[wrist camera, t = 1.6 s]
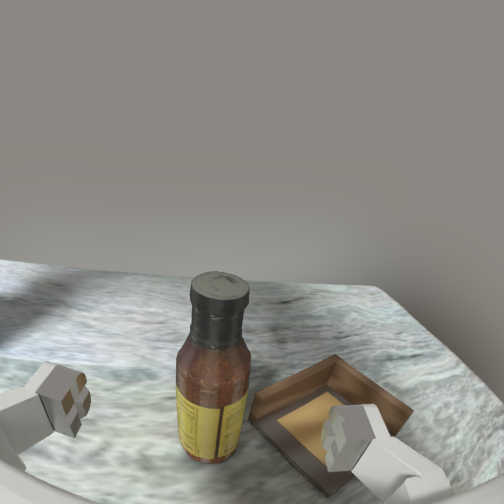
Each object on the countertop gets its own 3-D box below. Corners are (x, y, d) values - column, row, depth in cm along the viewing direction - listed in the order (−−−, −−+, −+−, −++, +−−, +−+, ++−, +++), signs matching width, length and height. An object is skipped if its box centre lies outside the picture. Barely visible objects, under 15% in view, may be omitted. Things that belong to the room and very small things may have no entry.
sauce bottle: (229, 420, 32) (259, 264, 25) (243, 463, 26) (288, 305, 19) (172, 423, 30) (176, 261, 23) (180, 469, 24) (184, 306, 17)
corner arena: (248, 419, 32) (255, 392, 31) (324, 380, 41) (335, 354, 39) (328, 497, 23) (346, 476, 21) (396, 435, 31) (413, 410, 29)
